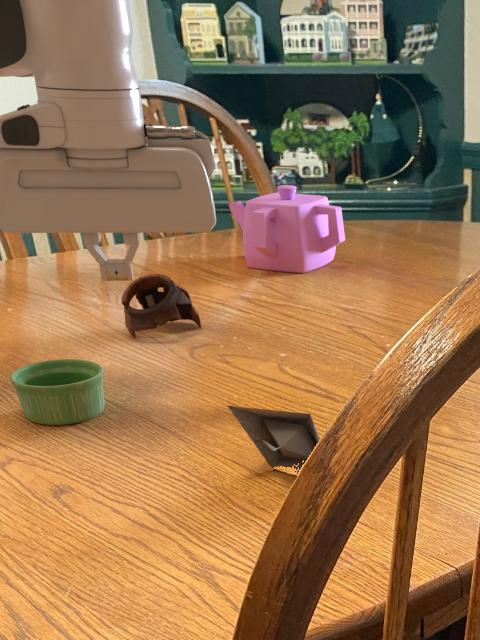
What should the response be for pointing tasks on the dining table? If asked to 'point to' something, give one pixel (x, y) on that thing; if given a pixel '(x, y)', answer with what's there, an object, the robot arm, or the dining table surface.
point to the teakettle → (289, 230)
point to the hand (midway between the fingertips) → (118, 279)
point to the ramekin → (60, 391)
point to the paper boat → (279, 434)
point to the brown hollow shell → (157, 303)
